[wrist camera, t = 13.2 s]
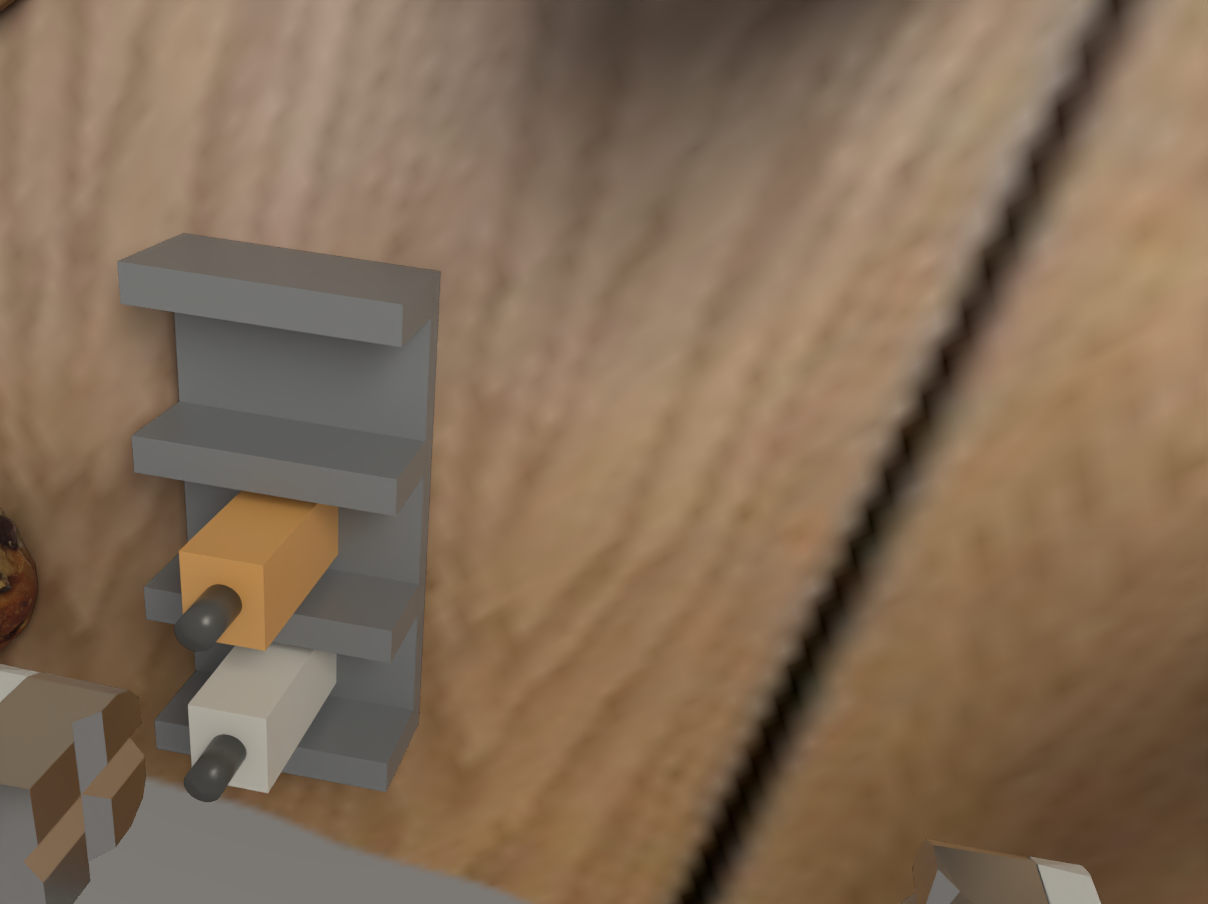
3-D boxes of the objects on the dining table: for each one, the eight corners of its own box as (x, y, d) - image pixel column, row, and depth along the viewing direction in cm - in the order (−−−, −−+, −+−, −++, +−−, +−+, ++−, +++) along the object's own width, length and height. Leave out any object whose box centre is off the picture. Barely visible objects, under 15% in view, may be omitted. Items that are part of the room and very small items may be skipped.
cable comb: (440, 271, 39) (402, 304, 35) (418, 723, 48) (386, 792, 44) (183, 233, 40) (117, 261, 36) (207, 684, 49) (156, 748, 45)
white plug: (336, 615, 45) (241, 755, 37) (336, 682, 46) (244, 831, 38) (268, 603, 45) (159, 739, 37) (270, 670, 47) (165, 816, 38)
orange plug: (338, 478, 42) (236, 596, 34) (338, 554, 44) (239, 685, 36) (266, 466, 42) (147, 580, 34) (268, 542, 44) (154, 669, 36)
